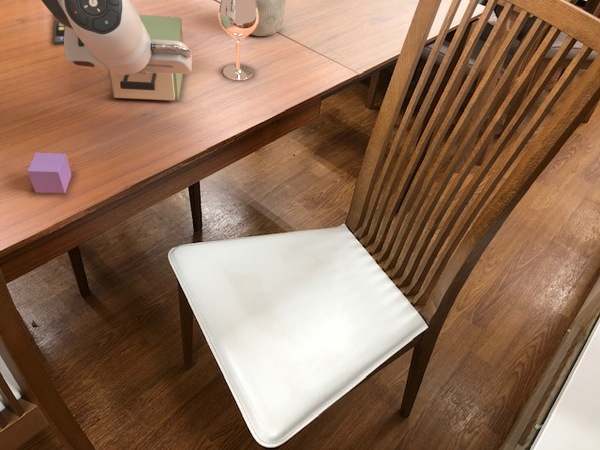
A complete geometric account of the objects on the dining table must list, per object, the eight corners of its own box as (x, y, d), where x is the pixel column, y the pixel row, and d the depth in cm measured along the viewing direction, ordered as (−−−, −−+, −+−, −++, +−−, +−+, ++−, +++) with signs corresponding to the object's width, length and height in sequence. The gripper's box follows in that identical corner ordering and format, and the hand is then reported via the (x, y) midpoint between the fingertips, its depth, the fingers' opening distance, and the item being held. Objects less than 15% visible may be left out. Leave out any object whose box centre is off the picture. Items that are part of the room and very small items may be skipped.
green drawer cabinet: (178, 101, 102) (174, 51, 94) (113, 98, 100) (103, 47, 92) (184, 64, 112) (181, 17, 104) (125, 61, 110) (118, 13, 103)
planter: (230, 37, 123) (230, -9, 115) (238, 15, 131) (238, -29, 124) (281, 43, 123) (284, -2, 115) (285, 21, 132) (289, -23, 124)
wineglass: (241, 60, 116) (243, -22, 103) (263, 76, 112) (268, -8, 99) (211, 69, 111) (209, -15, 98) (233, 86, 107) (234, 1, 95)
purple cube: (35, 192, 80) (27, 170, 77) (43, 174, 83) (35, 152, 80) (65, 193, 81) (58, 171, 77) (71, 175, 84) (65, 153, 80)
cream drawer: (171, 114, 97) (167, 72, 90) (109, 111, 95) (101, 69, 89) (180, 65, 109) (177, 26, 103) (126, 62, 108) (119, 22, 102)
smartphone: (54, 44, 112) (53, 39, 111) (57, 14, 122) (56, 9, 121) (93, 43, 114) (92, 38, 113) (92, 14, 124) (91, 9, 123)
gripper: (189, 28, 81) (196, 55, 94) (55, 19, 78) (82, 48, 92) (189, 67, 81) (196, 89, 94) (54, 60, 78) (82, 83, 92)
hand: (139, 69), depth 93 cm, fingers closed
